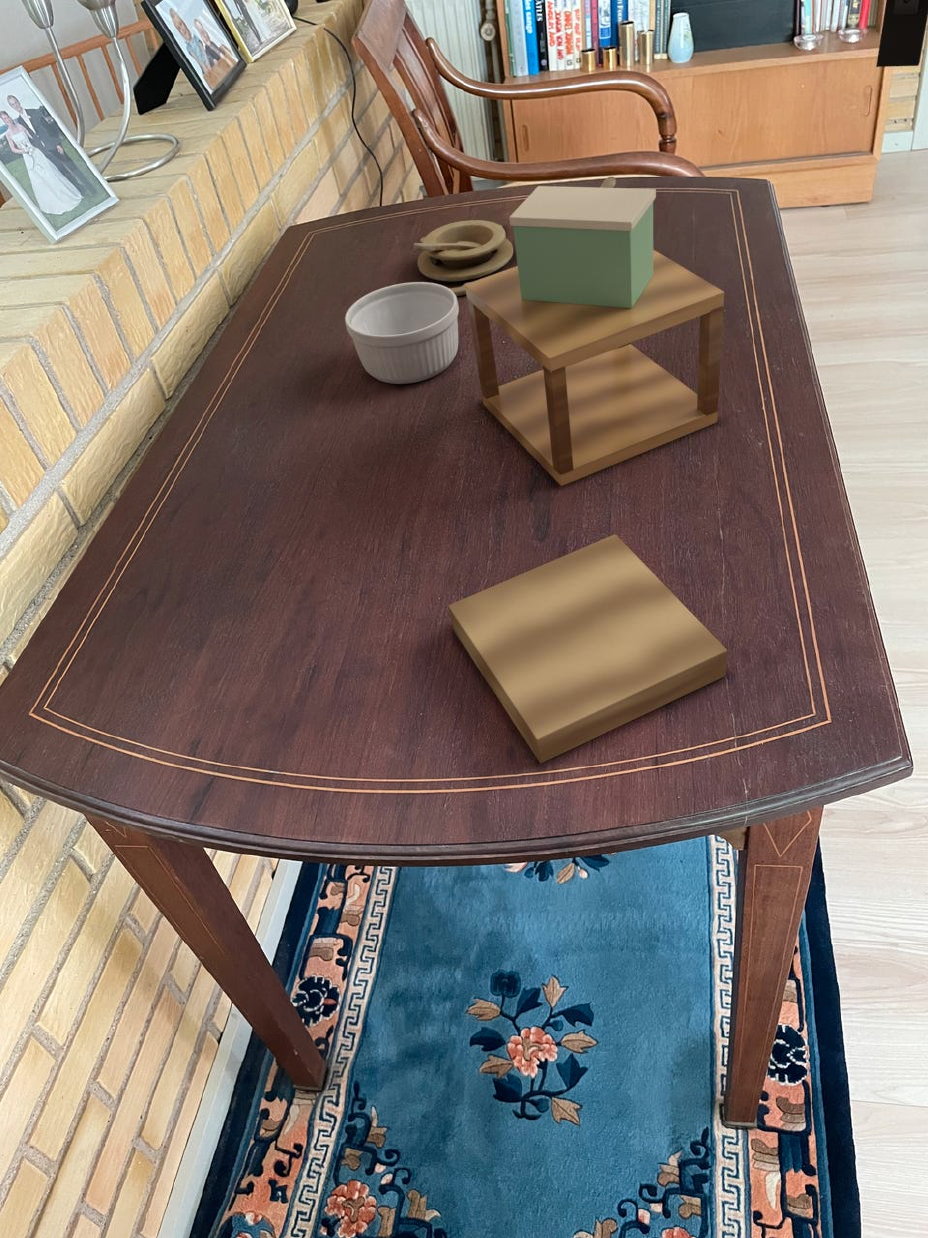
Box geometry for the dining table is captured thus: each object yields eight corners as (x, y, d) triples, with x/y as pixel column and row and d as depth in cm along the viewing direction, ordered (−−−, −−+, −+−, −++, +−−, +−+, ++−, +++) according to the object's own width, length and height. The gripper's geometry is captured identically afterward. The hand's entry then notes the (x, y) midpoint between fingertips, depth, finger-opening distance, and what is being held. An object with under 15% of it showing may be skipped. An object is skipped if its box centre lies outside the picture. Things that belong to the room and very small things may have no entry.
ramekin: (440, 322, 117) (431, 269, 112) (484, 365, 107) (475, 310, 103) (344, 357, 114) (330, 304, 109) (380, 404, 105) (366, 349, 100)
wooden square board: (725, 676, 70) (727, 650, 68) (540, 764, 67) (536, 739, 65) (616, 559, 81) (615, 533, 79) (453, 630, 78) (447, 605, 76)
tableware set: (421, 303, 121) (412, 259, 117) (417, 241, 135) (409, 200, 131) (646, 264, 119) (645, 218, 115) (618, 206, 133) (617, 163, 129)
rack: (717, 422, 93) (724, 291, 83) (561, 486, 89) (549, 358, 80) (623, 350, 105) (620, 229, 95) (483, 404, 102) (464, 284, 92)
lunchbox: (656, 274, 87) (656, 188, 82) (633, 310, 83) (631, 222, 78) (545, 267, 92) (538, 185, 86) (518, 300, 88) (508, 216, 82)
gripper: (938, -382, 62) (883, -11, 77) (878, -360, 47) (825, 93, 62) (1066, -408, 59) (984, -17, 74) (1045, -393, 44) (947, 91, 59)
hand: (911, 34), depth 68 cm, fingers open, 13 cm apart
